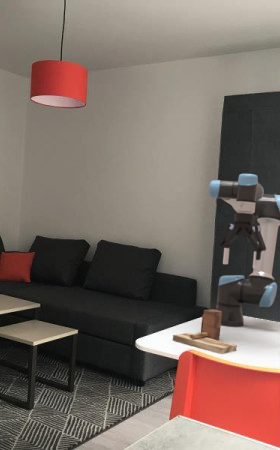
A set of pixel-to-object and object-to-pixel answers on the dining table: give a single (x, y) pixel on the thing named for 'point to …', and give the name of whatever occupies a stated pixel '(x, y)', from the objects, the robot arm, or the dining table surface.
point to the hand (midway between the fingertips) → (239, 266)
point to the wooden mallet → (210, 325)
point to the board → (205, 343)
